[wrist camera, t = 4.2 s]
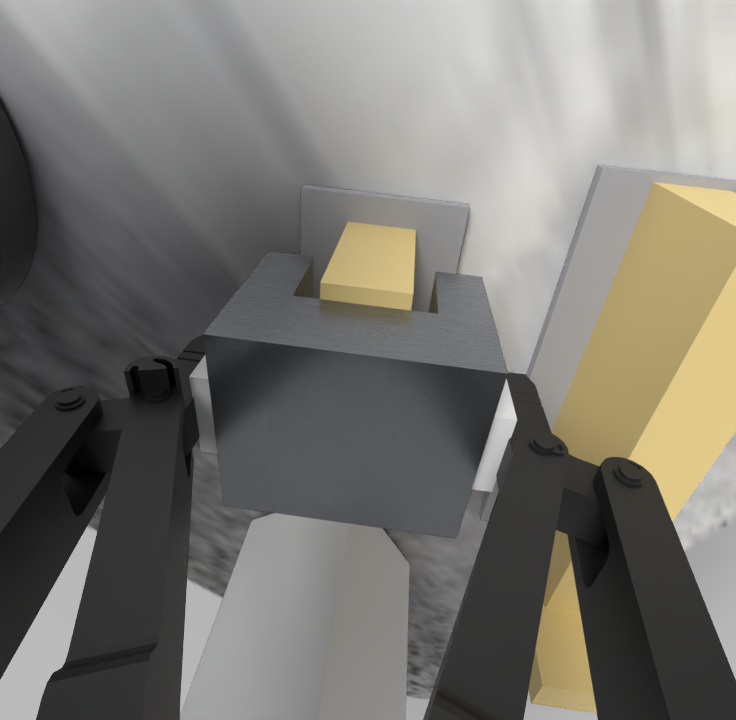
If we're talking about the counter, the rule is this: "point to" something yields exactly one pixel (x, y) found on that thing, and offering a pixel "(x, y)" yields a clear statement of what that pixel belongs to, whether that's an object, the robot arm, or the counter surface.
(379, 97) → the counter surface
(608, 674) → the robot arm
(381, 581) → the milk carton
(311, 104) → the counter surface
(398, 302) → the stub
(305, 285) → the grey block
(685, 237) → the rail
